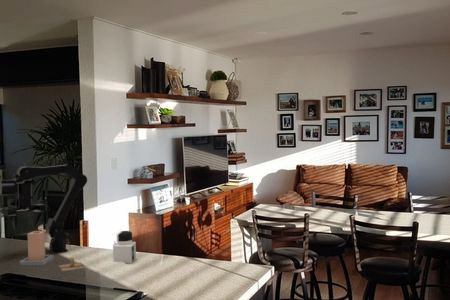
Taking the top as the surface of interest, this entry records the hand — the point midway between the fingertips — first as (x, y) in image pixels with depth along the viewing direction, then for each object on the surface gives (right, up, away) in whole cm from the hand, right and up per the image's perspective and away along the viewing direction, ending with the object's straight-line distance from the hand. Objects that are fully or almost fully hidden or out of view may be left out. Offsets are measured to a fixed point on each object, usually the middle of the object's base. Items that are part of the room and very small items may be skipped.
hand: (24, 228), depth 206 cm
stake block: (+28, -13, -20) cm, 37 cm away
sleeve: (+10, -13, -12) cm, 20 cm away
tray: (+10, -13, -12) cm, 21 cm away
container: (+48, -13, -10) cm, 51 cm away
